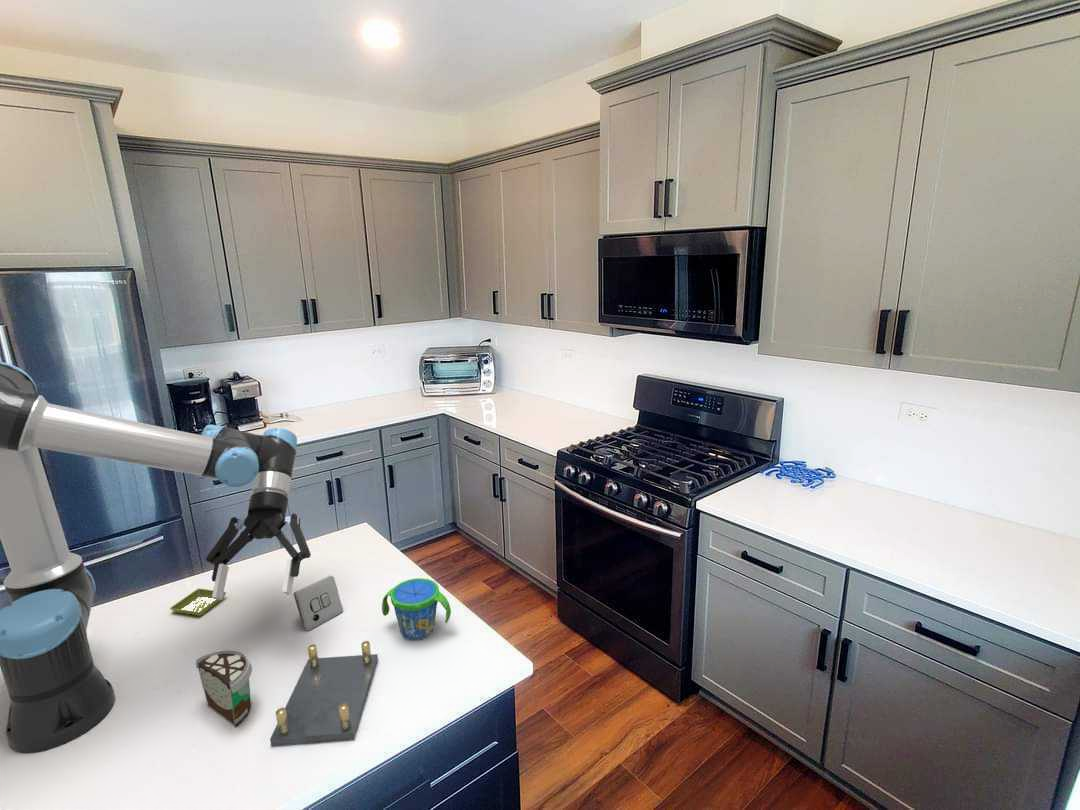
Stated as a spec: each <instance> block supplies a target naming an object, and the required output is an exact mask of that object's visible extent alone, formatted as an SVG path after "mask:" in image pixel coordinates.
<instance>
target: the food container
mask: <svg viewBox="0 0 1080 810" xmlns="http://www.w3.org/2000/svg"><path fill="white" fill-rule="evenodd" d="M195 661H196V662H195V665H196V669H198V673H199V677H200V681H201V685H202V690H203V692H204V697H205V700H206V704H207V707H208V708H209V709H210V710H212V711H213V712H214V713H215V714H217V715H218V716H219V717H220V718H222V719H223V720H225V721H226V722H227V723H228V724H230V725H231V726H232V727H234V728H235V729H236V728H237V727H238V726H240V725H241V724H242V723H243V722H244V721H245V719H247V718H248V716H249V714H250V712H251V710H252V709H251V708H252V701H251V699H252V698H251V687H250V678H251V676H252V673H253V666H252V663H251V662H250V659H249V657H248V656H247V655H246V654H245V653H243V652H242V651H239V650H238V649H237V650H235V649H224V650H217V651H214V652H211V653H208V654H205V655H203V656H201V657H198V658H196V659H195Z"/></svg>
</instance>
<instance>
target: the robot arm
mask: <svg viewBox="0 0 1080 810" xmlns="http://www.w3.org/2000/svg"><path fill="white" fill-rule="evenodd" d="M297 447H298V438H297V435H296V433H294V432H292V431H291V430H288V429H287V428H281V427H280V428H276V427H273V428H269V429H267V430H264V432H263V433H262V434H256V433H251V432H247V431H244V430H239V429H235V428H230V427H226V426H225V425H223V426H222V425H216V424H208V425H206V426H205V427H204V428H203V429H202V432H201V434H197V433H191V432H187V431H183V430H182V431H181V430H177V429H172V428H169V427H168V428H167V427H163V426H158V425H153V424H148V423H145V422H144V423H143V422H139V421H135V420H131V419H130V420H129V419H125V418H120V417H115V416H111V415H106V414H101V413H97V412H92V411H87V410H83V409H77V408H73V407H68V406H63V405H59V404H53V403H49V402H48V401H47V400H46V398H45V397H44V396H43V395H41V394H38V388H37V386H36V383H35V382H34V379H33V378H32V377H31V376H30V375H29V374H28V373H27V372H26V371H24V370H23V369H22V368H20V367H18V366H15V365H14V364H10V363H7V362H4V361H3V362H2V361H0V542H1V545H2V548H3V550H4V553H5V556H6V559H7V562H8V564H9V568H10V572H9V573H8V575H6V577H5V578H4V579H3V586H4V588H5V591H6V595H7V597H8V598H7V599H8V600H9V603H10V605H9V606H4V607H3V608H2V609H1V610H0V669H1V673H2V676H3V680H4V682H5V686H6V689H7V692H8V695H9V699H10V703H9V709H8V715H7V724H6V727H5V735H6V740H7V743H8V745H9V747H10V748H11V749H13V750H14V751H16V752H20V753H33V752H41V751H46V750H48V749H52V748H55V747H58V746H60V745H64V744H65V743H68V742H70V741H72V740H74V739H76V738H77V737H80V736H82V735H83V734H85V733H86V732H88V731H89V730H91V729H92V728H94V727H95V726H96V725H97V724H99V723H100V722H101V721H102V720H103V719H104V718H105V717H106V716H107V715H108V713H110V711H111V710H112V709H113V706H114V705H115V701H116V696H115V695H116V694H115V691H114V687H113V685H112V683H111V682H110V681H109V680H108V679H107V678H105V677H104V675H103V674H102V673H101V671H100V669H99V668H97V667H96V666H95V663H94V660H93V655H92V650H91V648H90V647H91V646H90V643H89V639H88V633H87V628H88V624H89V621H90V620H89V619H90V615H91V610H92V606H93V603H94V600H95V596H96V592H97V591H96V590H97V589H96V582H95V580H94V577H93V575H92V573H91V572H90V571H89V570H88V569H87V568H86V567H85V564H84V561H83V558H82V556H81V555H80V554H77V553H73V552H70V548H69V546H68V542H67V540H66V537H65V533H64V530H63V526H62V524H61V520H60V517H59V514H58V511H57V508H56V504H55V500H54V498H53V494H52V491H51V488H50V484H49V481H48V478H47V475H46V474H47V473H46V472H45V468H44V464H43V462H42V459H41V454H40V452H39V449H42V450H48V451H54V452H58V453H59V452H60V453H64V454H65V453H66V454H70V455H71V454H72V455H77V456H82V457H83V456H84V457H88V458H89V457H91V458H94V459H102V460H107V461H113V462H119V463H125V464H131V465H135V466H136V465H137V466H143V467H149V468H155V469H160V470H166V471H171V472H172V471H173V472H178V473H183V474H191V475H197V476H203V477H208V478H213V479H218V481H219V482H221V483H222V484H224V485H225V486H228V487H232V488H239V487H240V488H241V487H244V486H247V485H248V484H250V483H251V482H252V481H253V484H252V488H251V494H252V495H250V498H249V504H248V509H247V516H246V517H245V518H237V517H235V516H233V517H231V518H230V521H229V523H228V526H227V527H226V529H225V531H224V532H223V533H222V535H221V536H220V538H219V539H218V541H217V542H216V544H215V545H214V546H213V548H212V549H210V552H209V553H208V554H207V555H206V557H205V561H206V562H207V563H210V564H211V565H214V566H213V570H212V571H213V572H212V575H211V581H212V582H214V585H213V594H212V597H213V598H215V599H218V600H221V601H222V600H223V599H224V597H223V593H224V592H225V588H226V587H225V586H226V582H227V577H228V572H229V568H230V567H229V566H228V565H227V564H228V563H229V562H230V561H231V560H233V558H234V557H236V555H237V554H238V553H240V551H241V550H242V549H244V547H245V546H247V544H248V543H250V542H253V540H255V539H256V540H262V539H273V537H275V538H276V539H277V540H278V542H280V544H281V545H282V547H283V548H284V549H285V550H286V552H287V554H289V556H290V557H291V558H290V559H289V558H288V559H287V561H286V567H285V568H286V569H285V573H284V579H283V587H282V593H284V594H285V595H286V596H291V595H292V591H293V584H294V579H295V578H297V577H298V576H299V574H300V569H301V568H300V567H301V562H302V561H304V559H309V558H310V557H311V556H312V554H311V551H310V549H309V546H308V544H307V541H306V538H305V535H304V533H303V531H302V528H301V518H300V516H298V514H297V513H292V514H290V515H289V516H286V515H287V514H286V513H287V509H288V503H289V498H288V497H289V496H290V490H291V483H292V475H293V470H294V464H295V460H296V455H297ZM286 524H288V525H289V526H290V528H291V530H292V533H293V536H294V538H295V540H296V543H297V544H296V545H297V547H298V549H299V552H298V551H297V549H296V548H295V547H294V545H293V544H292V543H291V541H290V540H289V539H288V538H287V537H286V535H285V533H284V532H283V531H282V529H283V527H285V525H286ZM244 526H245V528H244V529H243V530H242V528H243V527H244ZM240 530H242V531H241V532H240V534H239V536H238V537H237V538H235V537H236V536H237V535H238V533H239V531H240ZM234 539H235V540H234ZM233 540H234V541H233ZM222 598H223V599H222Z"/></svg>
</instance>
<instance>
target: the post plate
mask: <svg viewBox="0 0 1080 810" xmlns="http://www.w3.org/2000/svg"><path fill="white" fill-rule="evenodd" d="M360 644H361V652H362V653H361V654H360V655H359V654H358V655H345V656H331V657H330V656H329V657H319V655H318V648H317V644H316V643H315V644H314V643H313V644H310V645H308V647H307V652H308V659H307V661H306V663H305V666H304V668H303V669H302V671H301V674H300V676H299V678H298V680H297V682H296V684H295V686H294V688H293V690H292V693H291V694H290V697H289V699H288V701H287V703H286V706H285V707H280V708H278V709H277V710H276V711H275V716H276V723H277V724H276V726H275V728H274V729H273V732H272V734H271V736H270V738H269V740H270V746H271V747H278V746H293V745H304V744H306V745H307V744H316V743H317V744H319V743H320V744H321V743H331V742H344V741H354V740H355V738H356V735H357V731H358V728H359V724H360V721H361V718H362V715H363V712H364V708H365V705H366V701H367V698H368V695H369V691H370V689H371V685H372V681H373V679H374V675H375V671H376V669H377V665H378V662H379V655H378V653H375V654H372V653H371V646H370V640H365V641H362V642H361V643H360Z"/></svg>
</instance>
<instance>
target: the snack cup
mask: <svg viewBox="0 0 1080 810" xmlns="http://www.w3.org/2000/svg"><path fill="white" fill-rule="evenodd" d="M388 597H390V602H391V604H392V606H393V608H394V613H395V616H396V620H397V624H398V627H399V631H400V633H401V635H402V637H403V638H405V639H409V640H421V641H422V640H423V639H424V638H425V637H428V636H429V635H430V634H431V633H434V631H435V630H434V629H435V627H436V617H437V608H438V602H439V603H440V604H441V606H442V607H443V608H444V610H445V621H444V623H445V624H447V623H448V621H449V620H450V618H451V613H452V609H451V606H450V605H451V604H450V603H449V600H448V598H447V597H446V596H445V595H444V593H442V592H441V591H440V588H439V585H438V583H437V582H435V581H433V580H431V579H429V578H425V577H424V578H423V577H420V578H419V577H418V578H411V579H407V580H404V581H402V582H400V583H397V585H396V586H394V587H393V588H391V589H390V590H388V591H387V592H386V593H385V595H384V597H383V598H382V602H381V611H382V615H383V616H384V617H386V616H387V615H388V614H389V612H390V606H389V602H388Z"/></svg>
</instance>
